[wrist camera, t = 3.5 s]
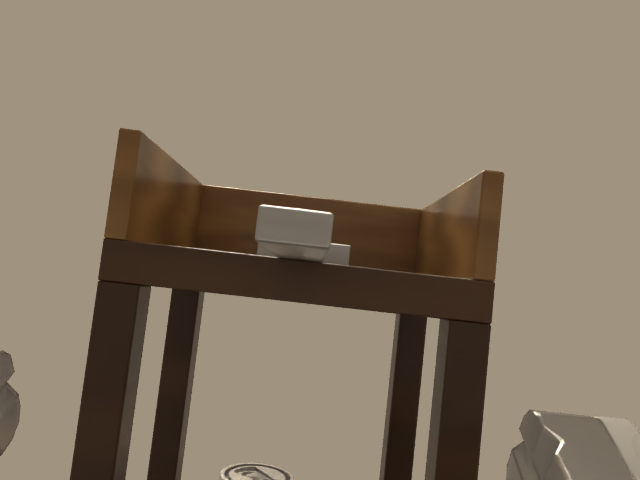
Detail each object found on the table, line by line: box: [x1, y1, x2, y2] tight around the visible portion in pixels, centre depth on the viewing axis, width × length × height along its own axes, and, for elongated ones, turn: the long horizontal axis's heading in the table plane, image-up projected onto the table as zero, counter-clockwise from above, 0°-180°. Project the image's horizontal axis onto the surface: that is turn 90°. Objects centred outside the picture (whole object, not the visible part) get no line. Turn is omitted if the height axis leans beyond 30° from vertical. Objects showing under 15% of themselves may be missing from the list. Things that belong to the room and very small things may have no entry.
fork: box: [255, 205, 351, 266], centre depth 20 cm, size 18×4×1 cm, turn 1°
